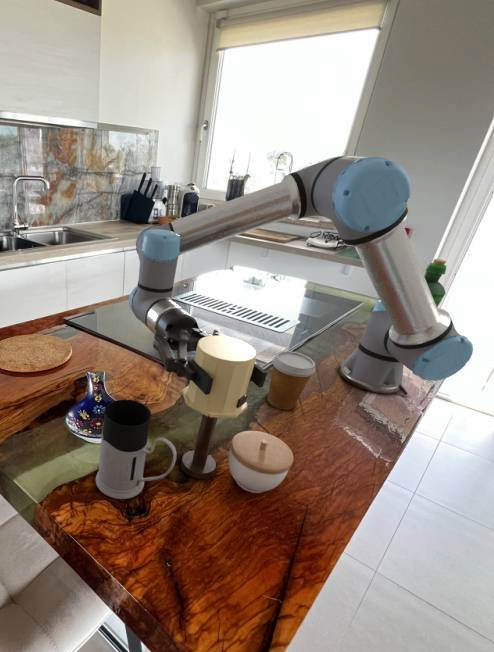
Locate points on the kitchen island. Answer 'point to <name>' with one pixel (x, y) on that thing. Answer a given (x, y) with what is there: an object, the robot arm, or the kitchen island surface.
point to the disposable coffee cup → (289, 378)
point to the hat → (222, 376)
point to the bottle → (435, 279)
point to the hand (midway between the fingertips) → (237, 383)
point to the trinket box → (259, 461)
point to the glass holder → (126, 449)
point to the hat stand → (201, 452)
